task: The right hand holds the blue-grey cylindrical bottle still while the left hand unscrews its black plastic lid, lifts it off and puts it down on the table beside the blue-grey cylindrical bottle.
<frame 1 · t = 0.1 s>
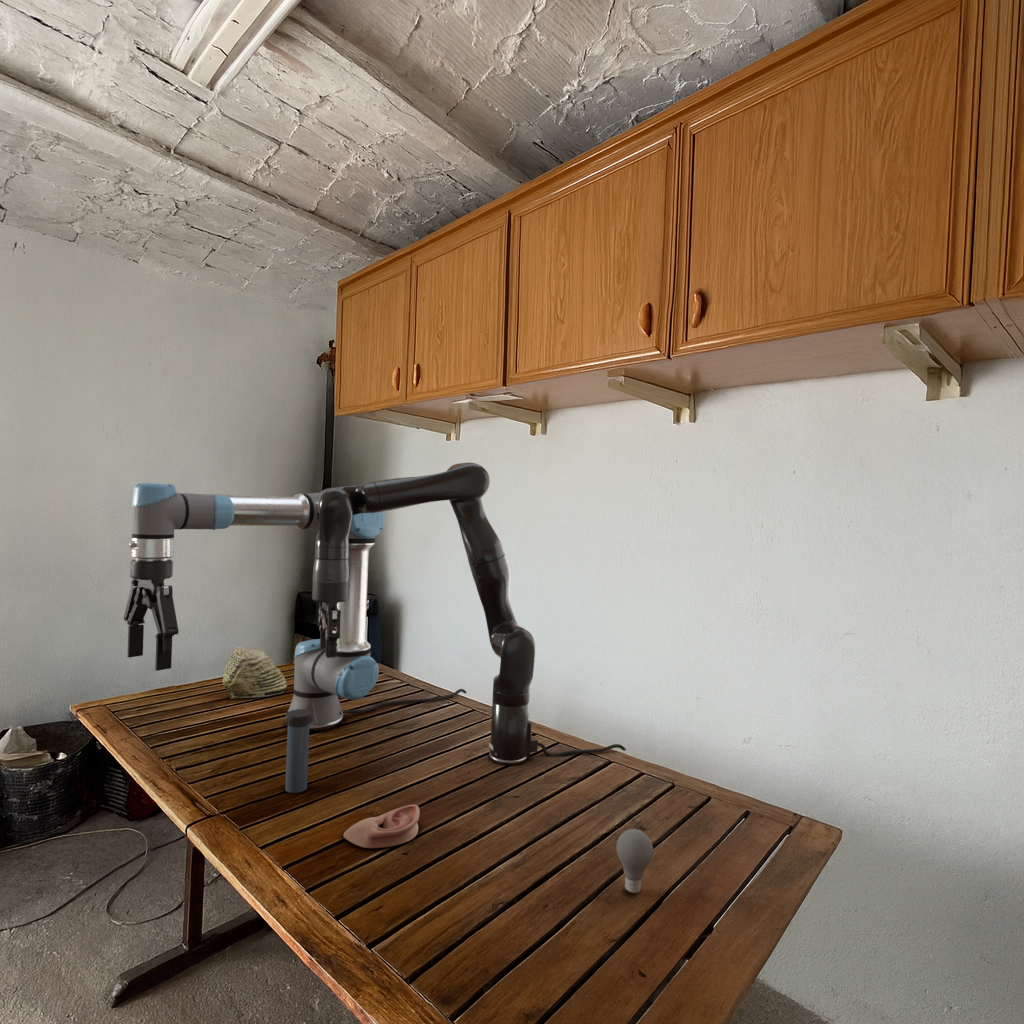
left hand: (148, 662, 129), 28 cm above the table, tool pointing down, fingers open, 13 cm apart
right hand: (327, 652, 139), 29 cm above the table, tool pointing down, fingers open, 8 cm apart
light bulb: (632, 891, 106), on the table
anatomical model: (381, 834, 120), on the table
lid: (299, 714, 137), point 16 cm above the table, screwed on, not yet turned
blue-grey cylindrical bottle: (296, 788, 137), on the table
fossil: (254, 694, 198), on the table
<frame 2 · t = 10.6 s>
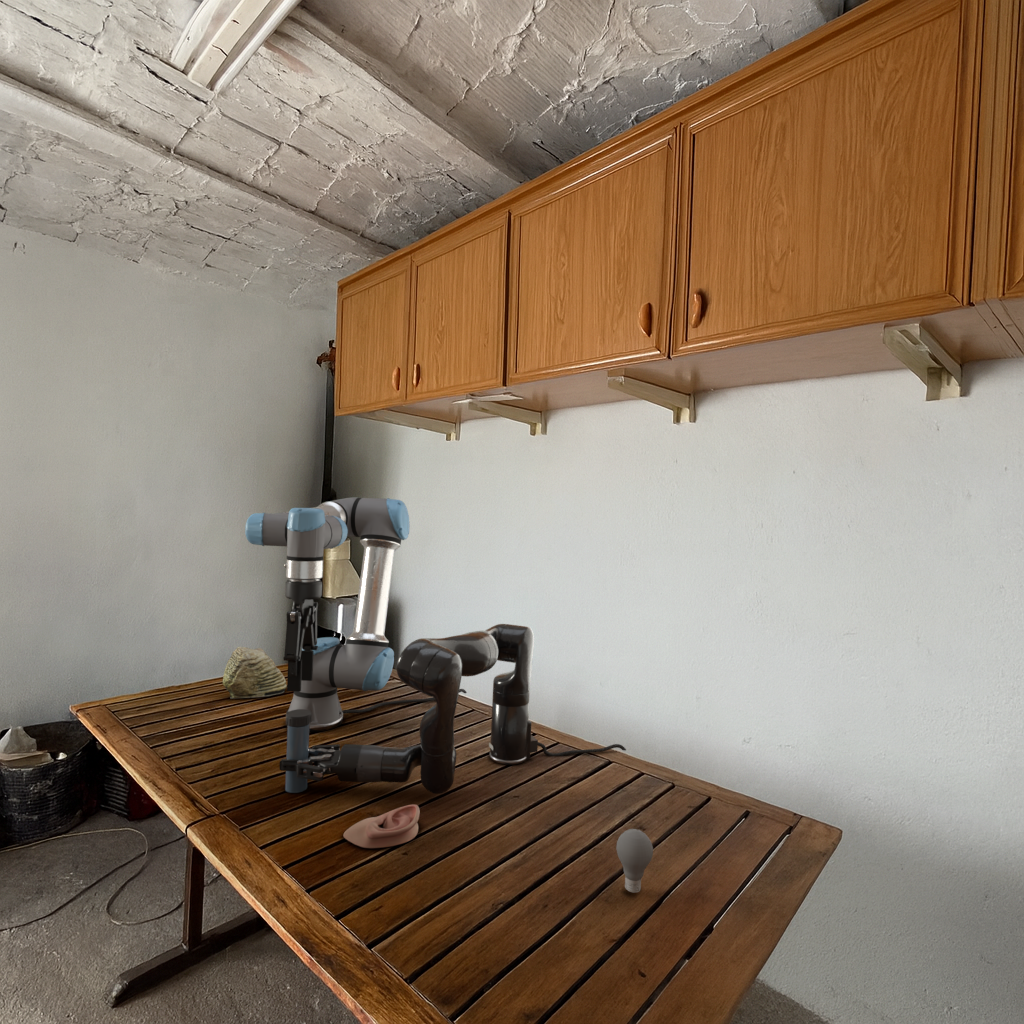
left hand: (300, 685, 137), 22 cm above the table, tool pointing down, fingers open, 7 cm apart
right hand: (284, 759, 137), 6 cm above the table, tool horizontal, fingers closed on blue-grey cylindrical bottle, 4 cm apart
blue-grey cylindrical bottle: (296, 788, 137), on the table, touching right hand
everything else where it was.
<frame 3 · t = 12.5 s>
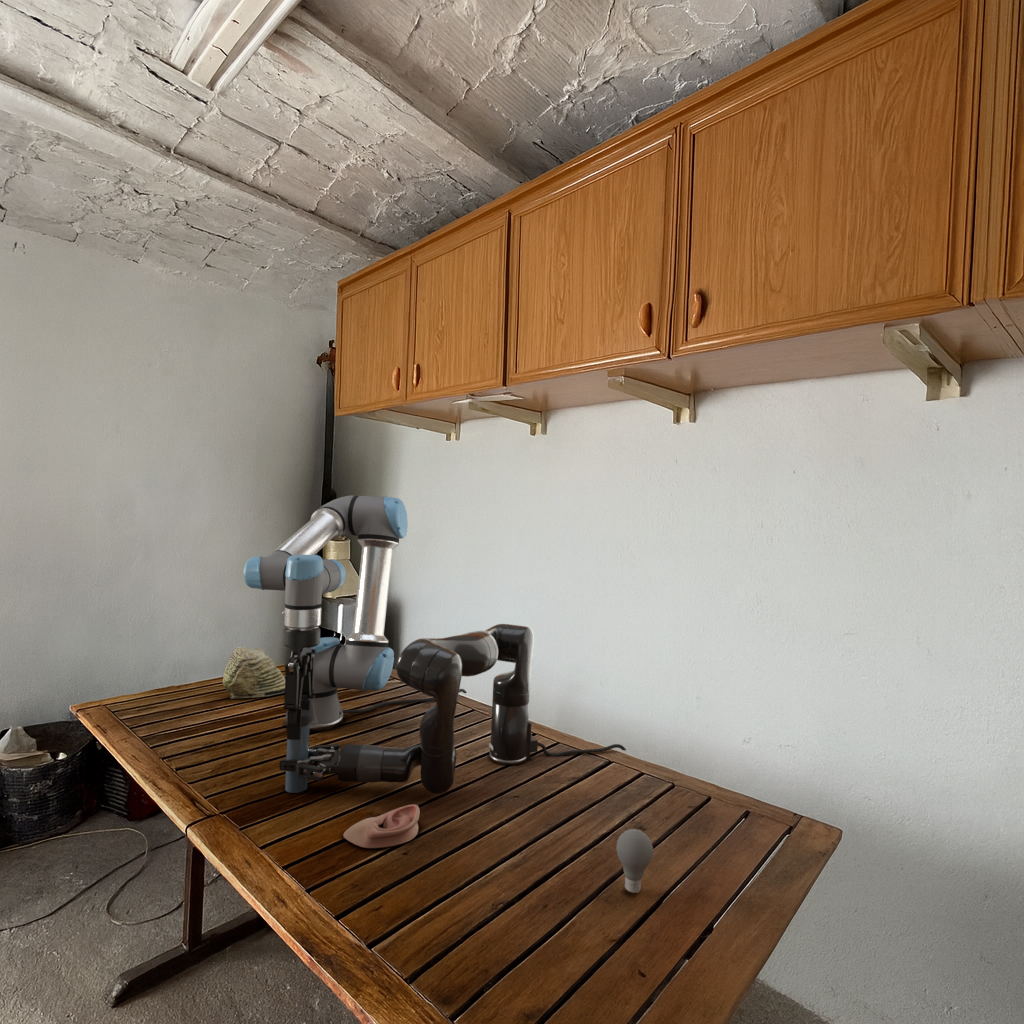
left hand: (298, 733, 137), 12 cm above the table, tool pointing down, fingers closed on lid, 5 cm apart
right hand: (285, 759, 137), 6 cm above the table, tool horizontal, fingers closed on blue-grey cylindrical bottle, 4 cm apart
lid: (299, 714, 137), point 16 cm above the table, screwed on, not yet turned, touching left hand
blue-grey cylindrical bottle: (296, 788, 137), on the table, touching right hand
everything else where it was.
when the left hand's fingers open (12 cm above the table, at t = 13.8 s): lid stays where it is, point 16 cm above the table.
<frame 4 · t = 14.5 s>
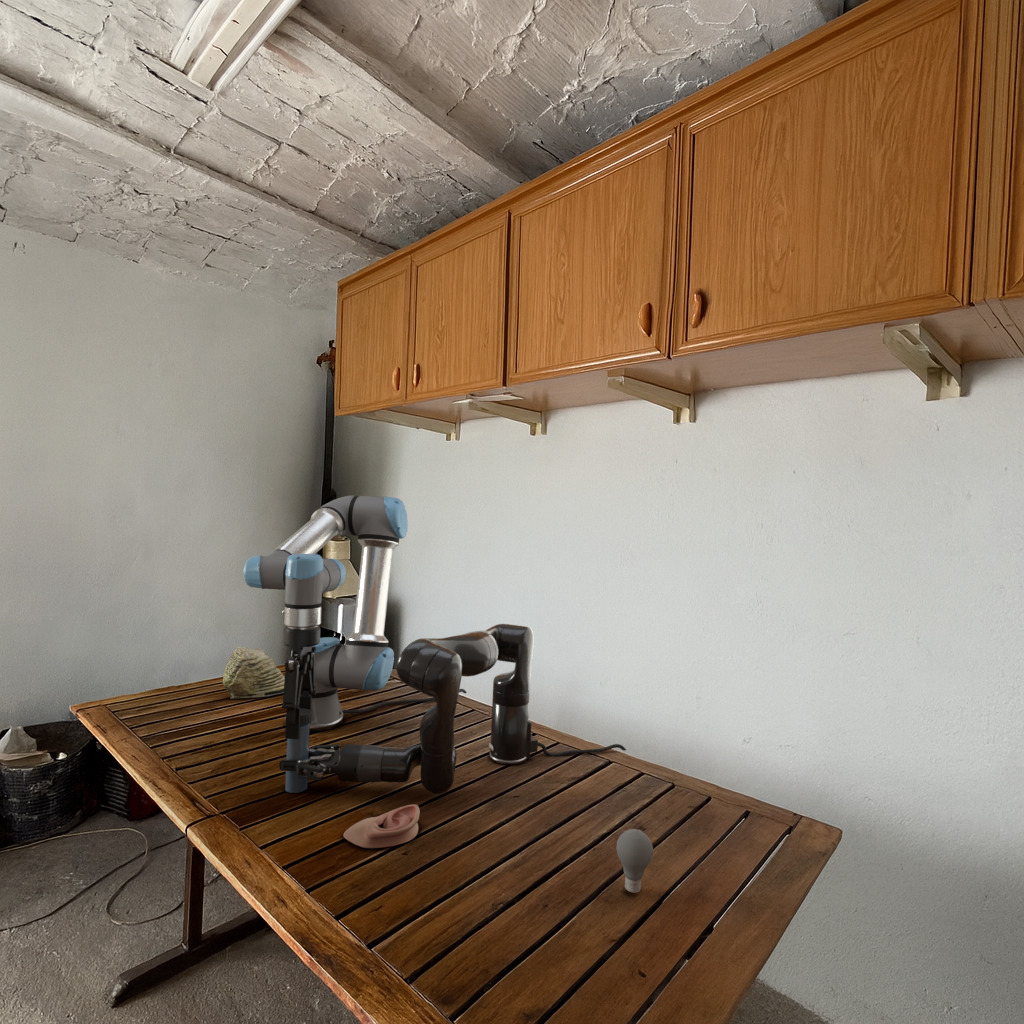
left hand: (298, 731, 137), 12 cm above the table, tool pointing down, fingers open, 7 cm apart
right hand: (285, 759, 137), 6 cm above the table, tool horizontal, fingers closed on blue-grey cylindrical bottle, 4 cm apart
lid: (299, 713, 137), point 16 cm above the table, turned 63° so far, risen 0.2 cm, still on its thread
blue-grey cylindrical bottle: (296, 788, 137), on the table, touching right hand
everything else where it was.
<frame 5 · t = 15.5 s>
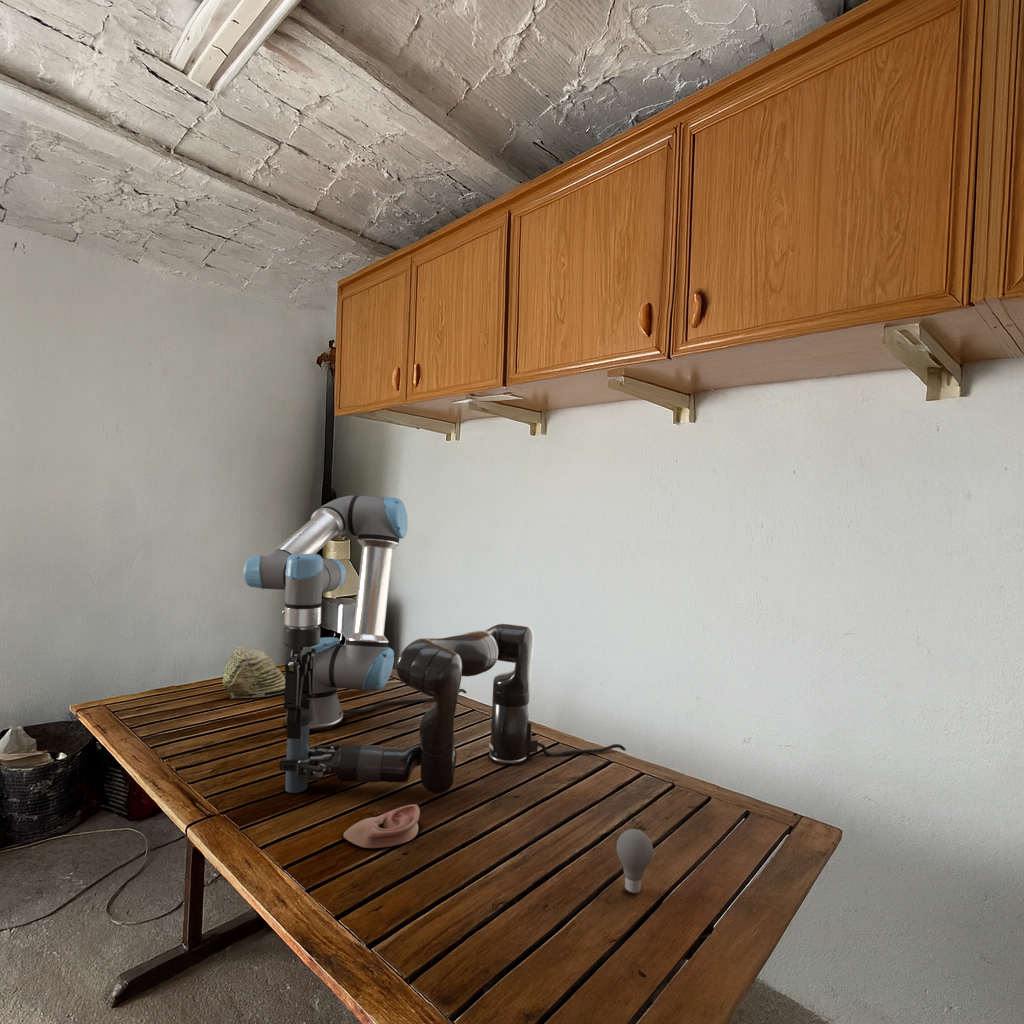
left hand: (298, 732, 137), 12 cm above the table, tool pointing down, fingers closed on lid, 5 cm apart
right hand: (285, 759, 137), 6 cm above the table, tool horizontal, fingers closed on blue-grey cylindrical bottle, 4 cm apart
lid: (299, 713, 137), point 16 cm above the table, turned 63° so far, risen 0.2 cm, still on its thread, touching left hand
blue-grey cylindrical bottle: (296, 788, 137), on the table, touching right hand
everything else where it was.
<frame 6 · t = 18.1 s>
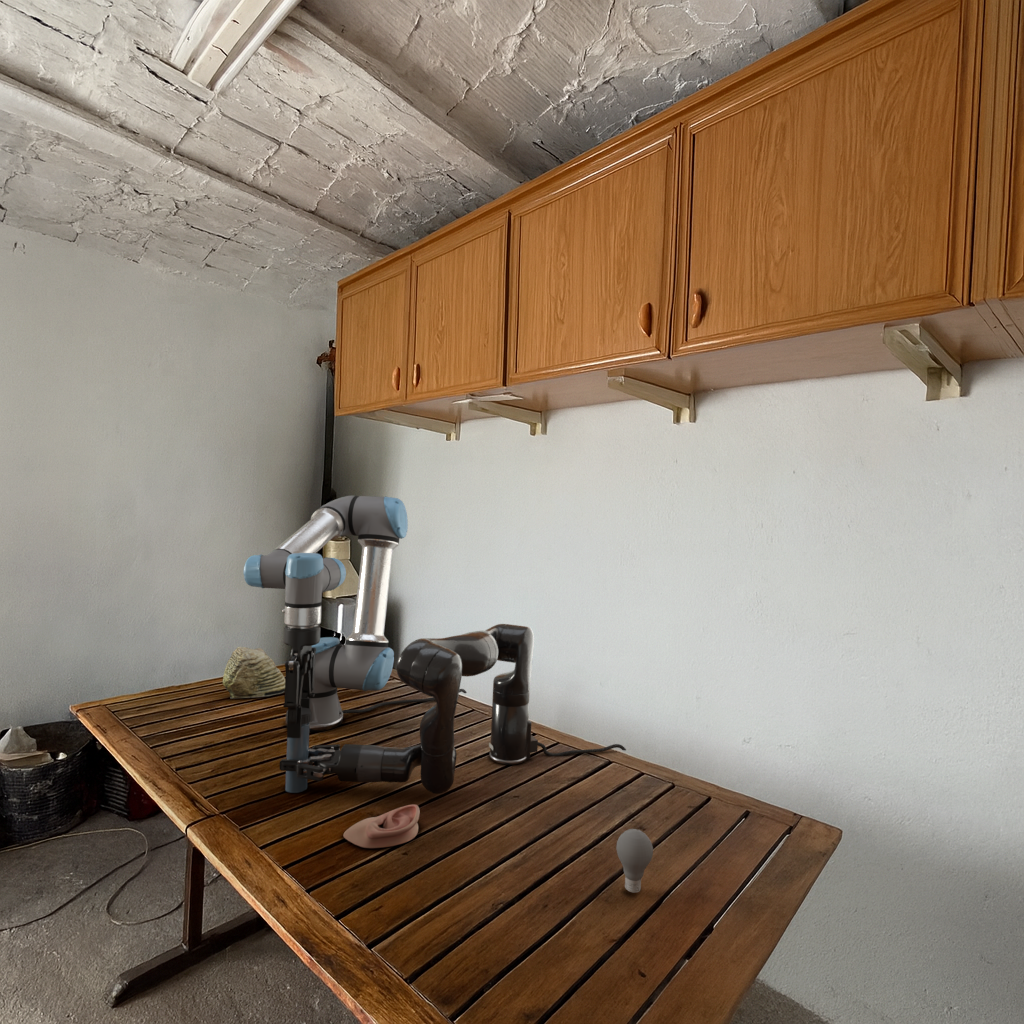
left hand: (298, 732, 137), 12 cm above the table, tool pointing down, fingers closed on lid, 5 cm apart
right hand: (285, 759, 137), 6 cm above the table, tool horizontal, fingers closed on blue-grey cylindrical bottle, 4 cm apart
lid: (299, 712, 137), point 16 cm above the table, turned 126° so far, risen 0.4 cm, still on its thread, touching left hand
blue-grey cylindrical bottle: (296, 788, 137), on the table, touching right hand
everything else where it was.
when the left hand's fingers open (0 cm above the table, at t = 24.7 s): lid drops 3 cm, point 2 cm above the table.
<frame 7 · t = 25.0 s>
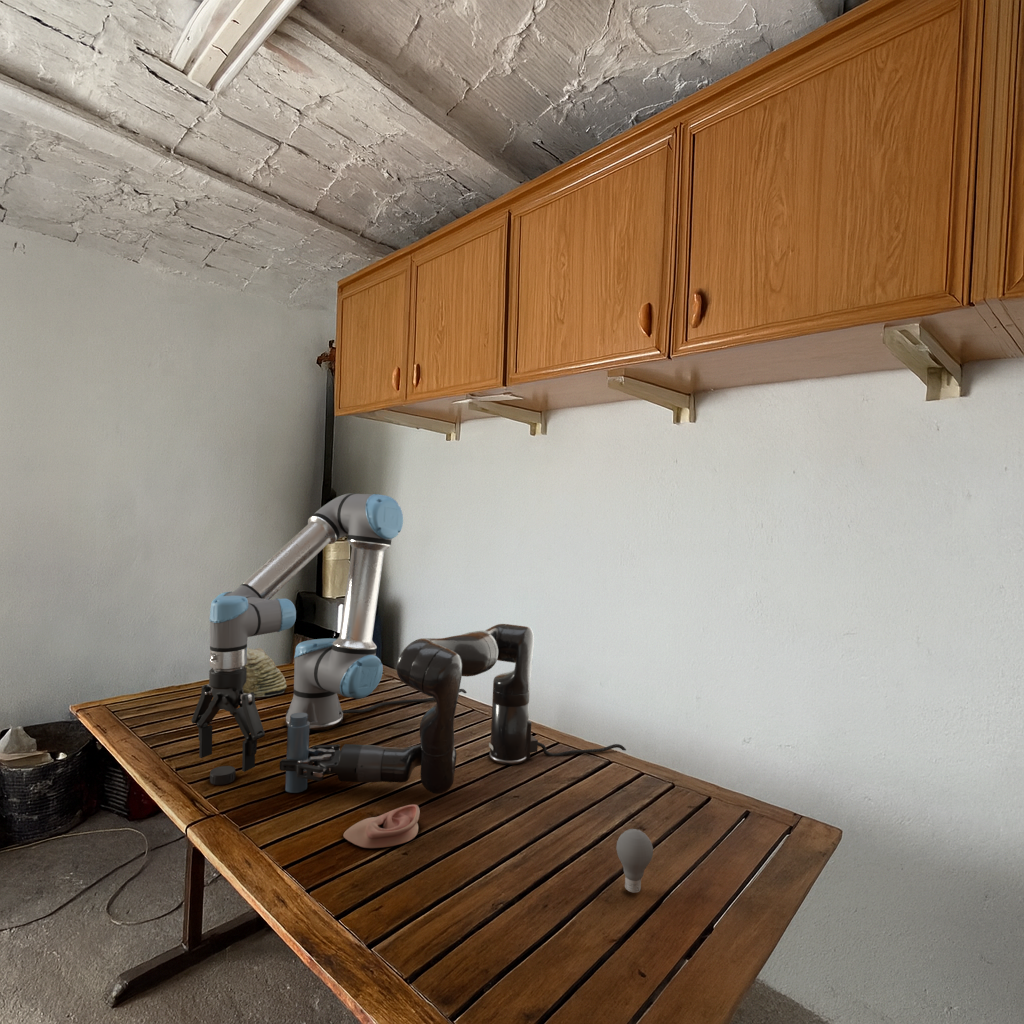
left hand: (226, 762, 140), 4 cm above the table, tool pointing down, fingers open, 13 cm apart
right hand: (285, 759, 137), 6 cm above the table, tool horizontal, fingers closed on blue-grey cylindrical bottle, 4 cm apart
lid: (222, 772, 139), point 2 cm above the table, off its thread
blue-grey cylindrical bottle: (296, 788, 137), on the table, touching right hand
everything else where it was.
when the right hand's fingers open (6 cm above the table, at t = 25.3 s): blue-grey cylindrical bottle stays where it is, on the table.
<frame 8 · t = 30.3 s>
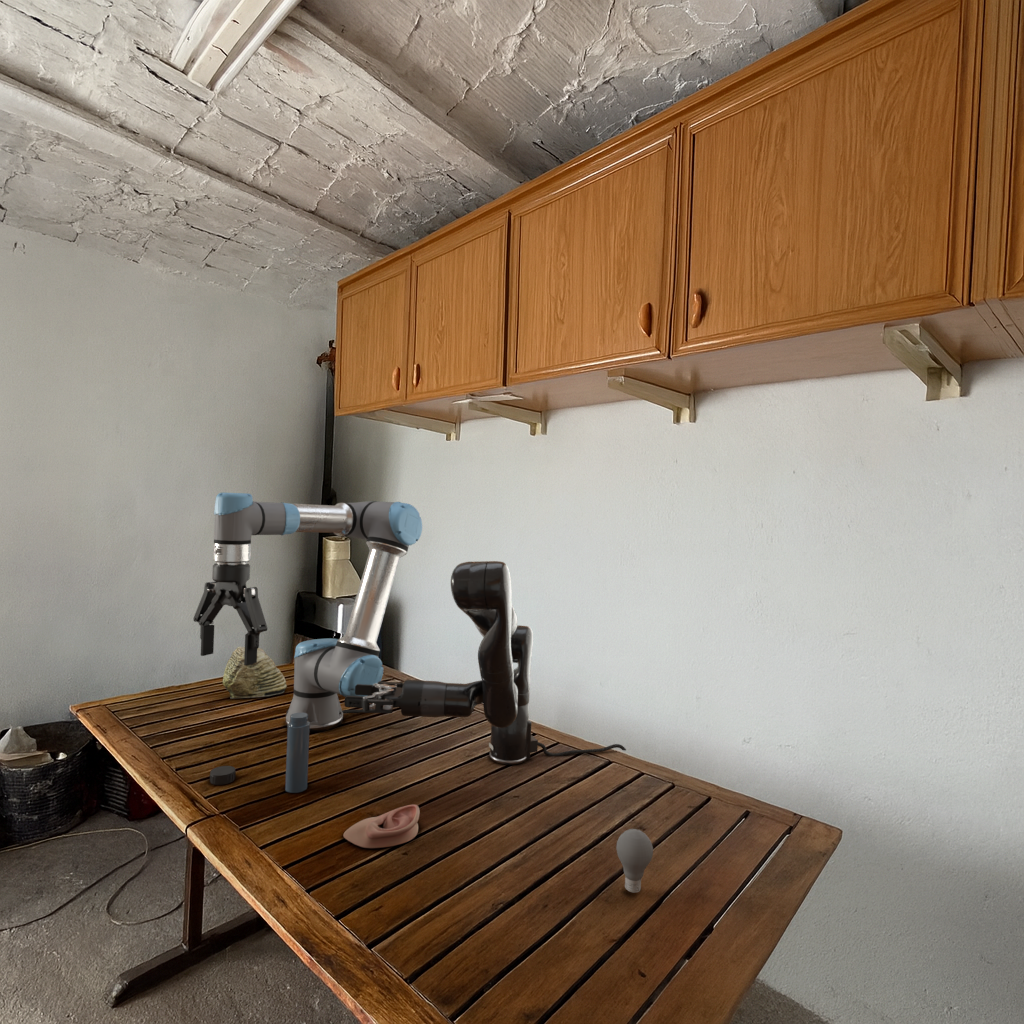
left hand: (228, 659, 139), 27 cm above the table, tool pointing down, fingers open, 13 cm apart
right hand: (350, 695, 137), 21 cm above the table, tool horizontal, fingers open, 8 cm apart
blue-grey cylindrical bottle: (296, 788, 137), on the table
everything else where it was.
at the end: lid came off its thread; lid point 1.8 cm above the table; the left hand is holding nothing; the right hand is holding nothing; blue-grey cylindrical bottle tilted 0°; blue-grey cylindrical bottle moved 0.0 cm from its start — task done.
